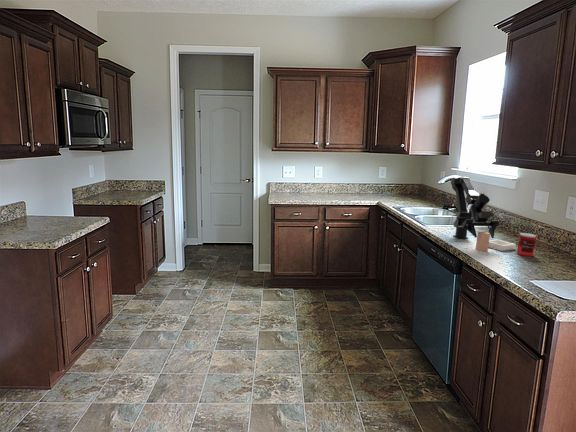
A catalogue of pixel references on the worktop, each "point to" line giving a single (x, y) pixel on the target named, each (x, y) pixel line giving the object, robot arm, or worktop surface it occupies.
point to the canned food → (526, 244)
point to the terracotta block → (482, 241)
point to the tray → (501, 245)
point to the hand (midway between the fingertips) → (484, 237)
